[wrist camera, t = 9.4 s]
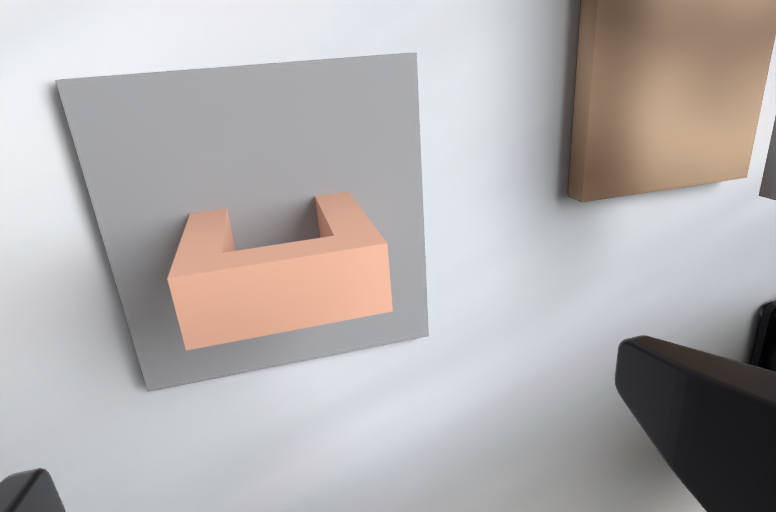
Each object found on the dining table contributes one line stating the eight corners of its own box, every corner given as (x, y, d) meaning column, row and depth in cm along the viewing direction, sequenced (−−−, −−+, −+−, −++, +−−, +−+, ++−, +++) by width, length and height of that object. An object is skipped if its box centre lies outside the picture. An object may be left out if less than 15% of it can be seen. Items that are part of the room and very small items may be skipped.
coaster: (423, 329, 22) (428, 336, 21) (150, 382, 20) (147, 391, 19) (411, 52, 18) (416, 52, 17) (62, 79, 15) (55, 80, 15)
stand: (596, -217, 16) (818, -389, 10) (798, -208, 18) (1098, -352, 12) (567, 196, 21) (703, 254, 15) (727, 172, 23) (908, 217, 17)
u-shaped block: (353, 243, 19) (392, 311, 14) (202, 267, 18) (186, 350, 13) (348, 191, 18) (387, 243, 13) (190, 213, 17) (167, 278, 12)
